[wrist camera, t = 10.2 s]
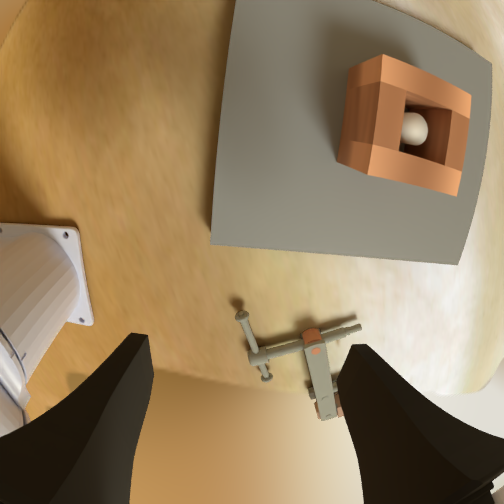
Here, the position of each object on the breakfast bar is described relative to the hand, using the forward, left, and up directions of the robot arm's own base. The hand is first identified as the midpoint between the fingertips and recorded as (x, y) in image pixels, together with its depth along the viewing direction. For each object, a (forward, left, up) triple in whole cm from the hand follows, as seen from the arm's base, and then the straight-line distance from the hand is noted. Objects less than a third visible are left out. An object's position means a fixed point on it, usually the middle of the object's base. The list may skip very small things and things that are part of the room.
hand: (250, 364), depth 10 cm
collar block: (+7, +9, -8) cm, 14 cm away
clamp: (+7, -10, -10) cm, 16 cm away
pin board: (+7, +9, -9) cm, 15 cm away
